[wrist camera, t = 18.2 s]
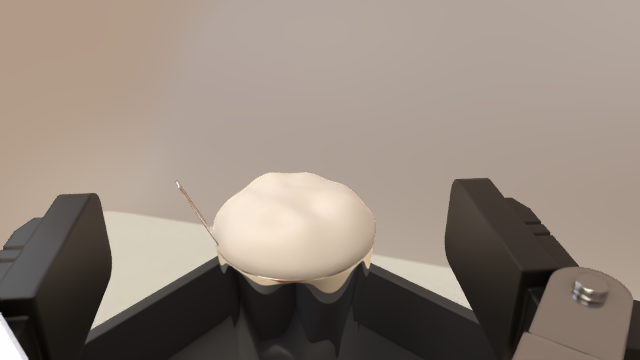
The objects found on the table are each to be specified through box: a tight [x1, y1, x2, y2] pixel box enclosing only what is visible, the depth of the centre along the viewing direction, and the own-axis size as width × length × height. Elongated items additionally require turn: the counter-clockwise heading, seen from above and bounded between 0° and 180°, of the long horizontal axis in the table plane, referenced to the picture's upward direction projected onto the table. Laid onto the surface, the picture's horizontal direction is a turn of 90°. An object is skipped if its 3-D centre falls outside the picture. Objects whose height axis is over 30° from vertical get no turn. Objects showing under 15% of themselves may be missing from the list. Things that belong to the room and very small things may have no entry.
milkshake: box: [176, 172, 376, 360], centre depth 17 cm, size 4×5×10 cm
